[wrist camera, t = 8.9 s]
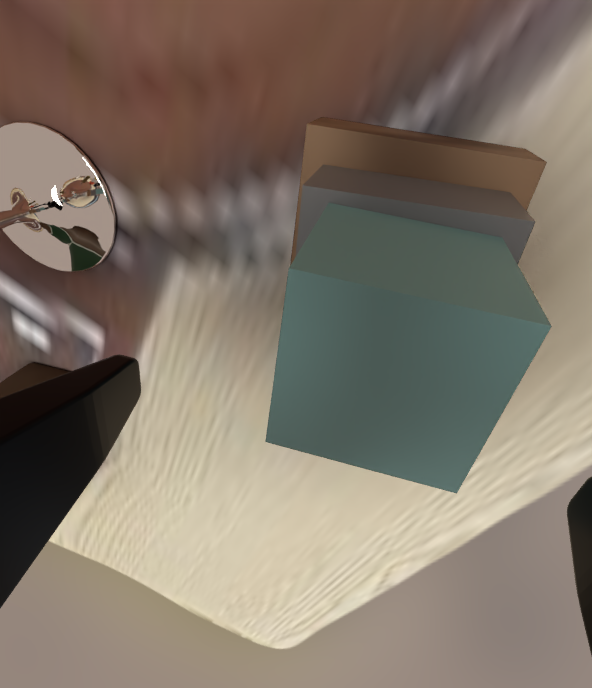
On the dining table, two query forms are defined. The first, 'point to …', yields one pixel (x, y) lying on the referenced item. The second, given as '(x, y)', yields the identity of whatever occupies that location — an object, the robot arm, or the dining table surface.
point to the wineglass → (53, 199)
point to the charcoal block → (416, 203)
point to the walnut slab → (417, 158)
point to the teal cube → (400, 345)
